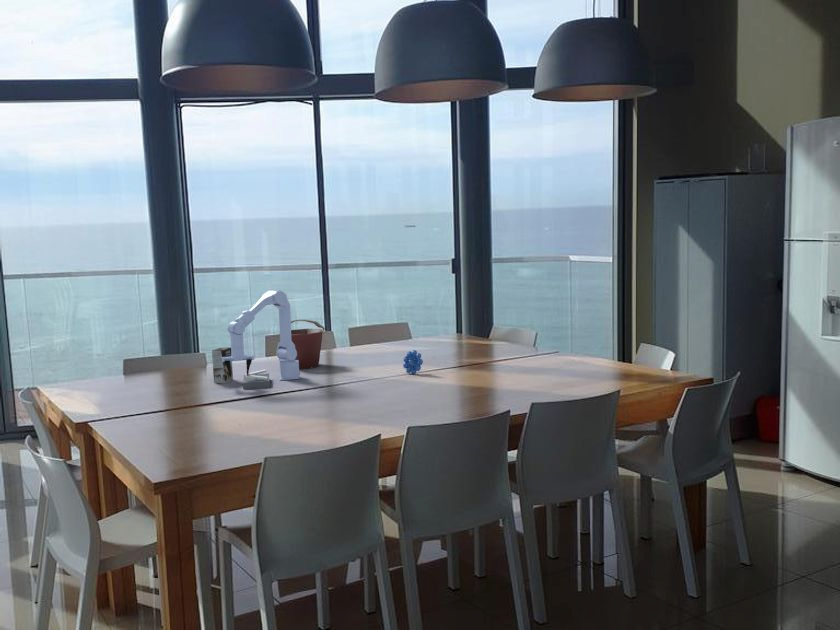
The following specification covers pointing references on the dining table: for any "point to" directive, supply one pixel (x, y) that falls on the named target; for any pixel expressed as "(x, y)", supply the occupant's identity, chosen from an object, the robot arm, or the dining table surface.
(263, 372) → the rocker
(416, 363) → the blue lobed wheel
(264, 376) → the rocker
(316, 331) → the bucket
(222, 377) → the coffee box
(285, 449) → the dining table surface
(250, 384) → the switch panel
